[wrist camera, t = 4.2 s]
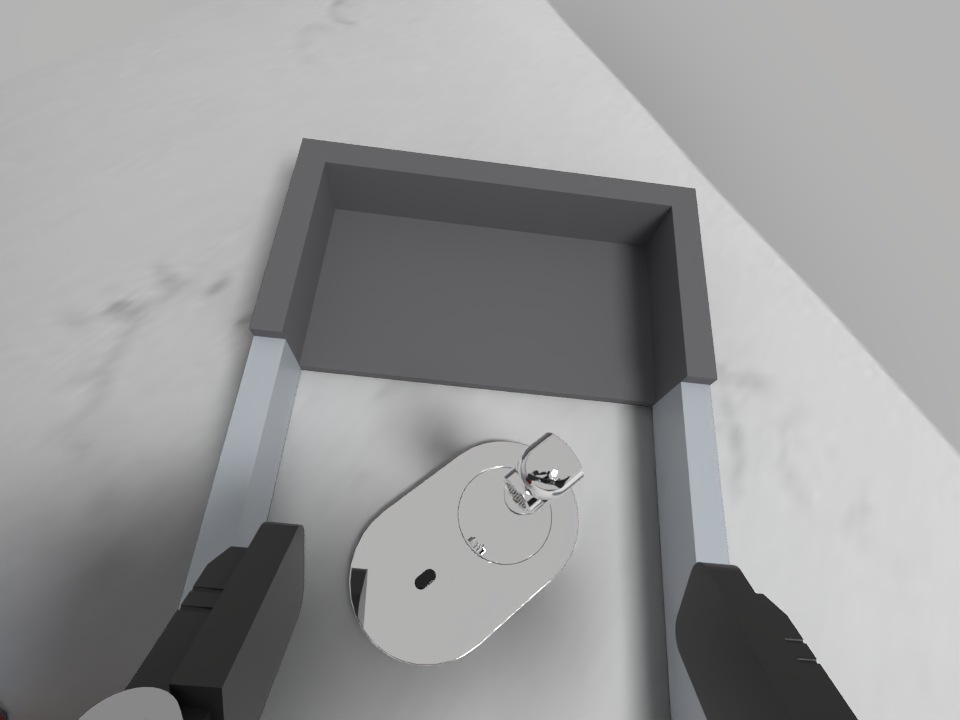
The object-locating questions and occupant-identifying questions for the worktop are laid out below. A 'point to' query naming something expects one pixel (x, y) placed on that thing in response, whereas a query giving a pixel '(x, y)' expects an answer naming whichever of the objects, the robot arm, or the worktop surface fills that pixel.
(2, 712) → the puzzle toy
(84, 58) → the worktop surface
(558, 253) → the dark pocket
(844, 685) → the worktop surface
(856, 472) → the worktop surface
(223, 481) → the channel
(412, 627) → the stand
